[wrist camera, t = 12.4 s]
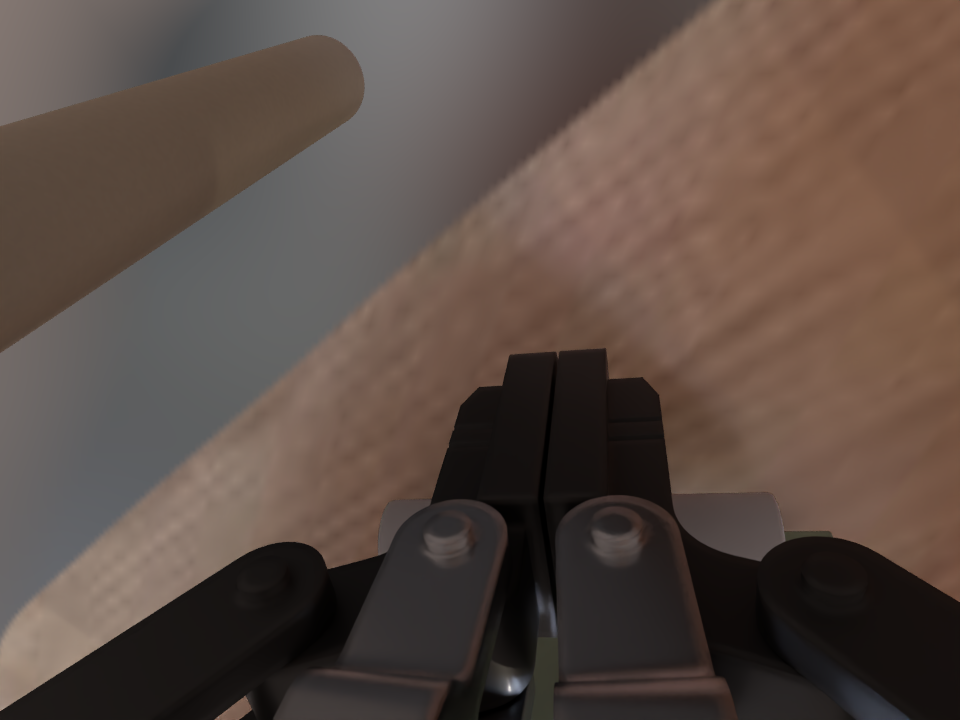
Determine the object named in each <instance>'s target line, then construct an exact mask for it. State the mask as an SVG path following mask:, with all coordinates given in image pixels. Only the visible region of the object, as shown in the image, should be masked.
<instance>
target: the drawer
mask: <svg viewBox="0 0 960 720" xmlns="http://www.w3.org/2000/svg"><path fill="white" fill-rule="evenodd" d="M431 500H432V499H413V500H393V501H391V502H389V503H388V504H387V506H386V507H385V509H384V512H383V515H382V518H381V522H380V527H379V535H378V556H379V555H381V554H383V553H386V552H387V551H388V549H389V547H390V545H391V542H392V540H393V538H394V536H395V534H396V532H397V531H398V529H399V528H400V526H401V525H402V524H403V523H404V522H405V521H406V520H407V519H408V518H409V517H410V516H412V515H413V514H415V513H416V512H418V511H419V510H421V509H423V508H425V507H427V506H430V503H431ZM672 501H673V508H674V512H675V515H676V517H677V519H678V521H679V522H680V524H681V525H682V526H683V528H684V529H685V530H686V531H687V532H688V533H689V534H690V535H691V536H693V537H694V538H696V539H697V540H698V541H700V542H702V543H703V544H705V545H707V546H709V547H711V548H714V549H716V550H718V551H721V552H724V553H728V554H731V555H735V556H740V557H744V558H748V559H753V560H757V561H761V560H762V558H763V557H764V556H765V555H766V554H767V552H769V551H770V550H771V549H772V548H774V547H775V546H777V545H779V544H781V543H783V542H785V541H788V540H791V539H795V538H801V537H810V536H823V537H833V536H832V534H831V532H829V531H797V532H784V527H783V522H782V517H781V513H780V509H779V506H778V503H777V501H776V499H775V497H774V496H773V494H771V493H768V492H756V493H707V494H672ZM533 674H534V679H535V687H536V689H535V699H534V704H533V710H532V716H531V720H553V694H554V684H555V682H558V681H559V666H558V638H556V637H538V641H537V652H536V663H535V668H534V673H533Z"/></svg>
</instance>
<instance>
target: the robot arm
mask: <svg viewBox="0 0 960 720" xmlns="http://www.w3.org/2000/svg"><path fill="white" fill-rule="evenodd" d="M538 637H556V638H558V666H559V681H558V682H555V684H554V694H553V720H960V602H958V601H956V600H955V599H953V598H952V597H950V596H948V595H947V594H945V593H943V592H942V591H940V590H938V589H937V588H935V587H933V586H932V585H930V584H928V583H927V582H925V581H923V580H922V579H920V578H918V577H917V576H915V575H913V574H912V573H910V572H908V571H907V570H905V569H904V568H902V567H900V566H899V565H897V564H895V563H894V562H892V561H890V560H889V559H887V558H885V557H884V556H882V555H880V554H879V553H877V552H875V551H873V550H871V549H869V548H867V547H865V546H862V545H860V544H857V543H854V542H851V541H847V540H844V539H839V538H833V537H823V536H810V537H801V538H795V539H791V540H788V541H785V542H783V543H781V544H779V545H777V546H775V547H774V548H772V549H771V550H770V551H769V552H767V554H766V555H765V556H764V557H763V558H762V560H761V561H757V560H753V559H748V558H744V557H740V556H735V555H731V554H728V553H724V552H721V551H718V550H716V549H714V548H711V547H709V546H707V545H705V544H703V543H702V542H700V541H698V540H697V539H696V538H694V537H693V536H691V535H690V534H689V533H688V532H687V531H686V530H685V529H684V528H683V526H682V525H681V524H680V522H679V521H678V519H677V517H676V515H675V512H674V508H673V501H672V493H671V485H670V478H669V470H668V462H667V454H666V446H665V439H664V430H663V423H662V415H661V407H660V399H659V394H658V393H657V392H656V391H655V390H654V389H653V388H652V387H651V386H650V385H649V384H648V383H647V382H646V381H645V380H644V378H643V377H641V378H624V379H609V373H608V361H607V352H606V348H600V349H586V350H571V351H560V352H559V357H558V356H557V353H556V352H544V353H529V354H514V355H510V356H509V359H508V364H507V368H506V372H505V377H504V381H503V385H502V386H491V387H479V388H478V389H477V390H476V391H475V392H474V393H473V394H472V395H471V396H470V397H469V398H468V399H467V400H466V401H465V402H464V403H463V404H462V405H461V406H460V410H459V413H458V416H457V419H456V422H455V426H454V431H453V432H452V435H451V439H450V442H449V448H447V451H446V455H445V458H444V461H443V464H442V468H441V471H440V474H439V477H438V480H437V484H436V487H435V490H434V493H433V497H432V500H431V503H430V506H427V507H425V508H423V509H421V510H419V511H418V512H416V513H415V514H413V515H412V516H410V517H409V518H408V519H407V520H406V521H405V522H404V523H403V524H402V525H401V526H400V528H399V529H398V531H397V532H396V534H395V536H394V538H393V540H392V542H391V545H390V547H389V549H388V551H387V552H386V553H383V554H381V555H379V556H376V557H372V558H369V559H366V560H362V561H358V562H354V563H350V564H347V565H343V566H339V567H335V568H331V569H327V567H326V564H325V561H324V559H323V557H322V555H321V554H320V553H319V552H318V551H317V550H316V549H314V548H313V547H311V546H309V545H306V544H303V543H297V542H282V543H275V544H270V545H267V546H264V547H261V548H258V549H256V550H253V551H251V552H249V553H247V554H245V555H244V556H242V557H240V558H238V559H237V560H235V561H234V562H232V563H231V564H229V565H228V566H226V567H224V568H223V569H221V570H220V571H218V572H217V573H215V574H213V575H212V576H210V577H209V578H207V579H206V580H204V581H203V582H201V583H199V584H198V585H196V586H195V587H193V588H192V589H190V590H189V591H187V592H185V593H184V594H182V595H181V596H179V597H178V598H176V599H175V600H173V601H171V602H170V603H168V604H167V605H165V606H164V607H162V608H161V609H159V610H157V611H156V612H154V613H153V614H151V615H150V616H148V617H146V618H145V619H143V620H142V621H140V622H139V623H137V624H136V625H134V626H132V627H131V628H129V629H128V630H126V631H125V632H123V633H122V634H120V635H118V636H117V637H115V638H114V639H112V640H111V641H109V642H108V643H106V644H104V645H103V646H101V647H100V648H98V649H97V650H95V651H94V652H92V653H90V654H89V655H87V656H86V657H84V658H83V659H81V660H79V661H78V662H76V663H75V664H73V665H72V666H70V667H69V668H67V669H65V670H64V671H62V672H61V673H59V674H58V675H56V676H55V677H53V678H51V679H50V680H48V681H47V682H45V683H44V684H42V685H41V686H39V687H37V688H36V689H34V690H33V691H31V692H30V693H28V694H27V695H25V696H23V697H22V698H20V699H19V700H17V701H16V702H14V703H12V704H11V705H9V706H8V707H6V708H5V709H3V710H2V711H0V720H214V719H215V718H217V717H218V716H219V715H220V714H222V713H223V712H224V711H226V710H227V709H228V708H230V707H231V706H232V705H234V704H235V703H236V702H237V701H239V700H240V699H241V698H243V697H244V696H245V695H246V697H247V699H248V701H249V703H250V705H251V708H252V710H251V711H250V712H249V713H248V714H246V715H245V716H244V717H242V718H241V719H240V720H531V716H532V710H533V704H534V699H535V689H536V687H535V679H534V674H533V673H534V668H535V663H536V652H537V641H538Z"/></svg>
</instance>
